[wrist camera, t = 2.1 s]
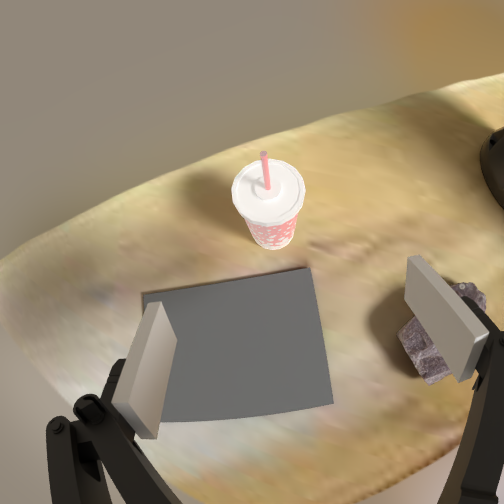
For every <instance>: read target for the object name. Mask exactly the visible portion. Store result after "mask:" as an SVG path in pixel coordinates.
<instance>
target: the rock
mask: <svg viewBox="0 0 504 504" xmlns="http://www.w3.org/2000/svg"><path fill="white" fill-rule="evenodd" d="M450 287H451V288H452V289H453V290H454V291H455V293H456V294H457V295H458V296H459V297H462V296H467V297H469V298H470V299H472V300H474V301H475V302H476V303H477V305H478V306H479V307H480V308H481V309H482V310H483V311H484V313H485V310H486V297H485V295H484V293H482V292H480V291H479V290H478V289H477V287H476V286H475V284H474V283H471V282H469V283H464V282H463V283H458V284H456V285H450ZM397 337H398V339H399V340H400V341H401V343H402V345H403V347H404V349H405V351H406V352H407V354H408V355H409V357H410V358H411V360H412V361H413V364H414V366H415V367H416V369H417V371H418V373H419V375H420V376H422V378H423V379H424V381H425V382H426V383H427V384H428V385H429V386H430V385H432V384H433V383H435V382H437V381H439V380H441V379H442V378H443V377H444V376H448V375H450V374H452V372H451V370H450V369H449V367H448V365H447V364H446V362H445V360H444V359H443V357H442V356H441V354H440V352H439V351H438V349H437V348H436V346H435V345H434V343H433V341H432V340H431V338H430V337H429V335H428V334H427V332H426V331H425V329H424V328H423V326H422V325H421V323H420V322H419V320H418V319H417V317H416V316H414V317H413V318H412V319H411V320H410V321H408V322H407V323H406V324H405V325H404V326H403V327H402V328H401V329H400V330H399V331H398V333H397Z"/></svg>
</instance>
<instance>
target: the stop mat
mask: <svg viewBox="0 0 504 504" xmlns="http://www.w3.org/2000/svg"><path fill="white" fill-rule="evenodd" d="M143 298H144V312H145V309H146V307H147V304H148V303H152V302H159V301H161V302H162V305H163V307H164V310H165V312H166V314H167V317H168V319H169V322H170V324H171V326H172V329H173V331H174V334H175V336H176V338H177V343H176V348H175V352H174V357H173V361H172V366H171V370H170V375H169V380H168V384H167V389H166V394H165V399H164V404H163V409H162V414H161V419H160V422H194V421H212V420H225V419H237V418H247V417H255V416H264V415H271V414H278V413H285V412H291V411H297V410H303V409H309V408H314V407H319V406H324V405H329V404H334V402H333V395H332V388H331V382H330V375H329V369H328V363H327V356H326V350H325V345H324V339H323V333H322V327H321V322H320V316H319V311H318V305H317V300H316V295H315V290H314V285H313V280H312V274H311V270H310V268H305V269H299V270H293V271H288V272H282V273H276V274H271V275H265V276H259V277H253V278H247V279H241V280H235V281H229V282H223V283H217V284H211V285H204V286H198V287H192V288H185V289H179V290H173V291H166V292H159V293H153V294H146V295H143Z"/></svg>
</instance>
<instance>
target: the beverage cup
mask: <svg viewBox="0 0 504 504" xmlns="http://www.w3.org/2000/svg"><path fill="white" fill-rule="evenodd" d="M260 156H261V160H258V161H255V162H253V163H251V164H249V165H247V166H245V167H244V168H243V169H242V170H241V171H240V172H239V173H238V175H237V176H236V177H235V179H234V182H233V185H232V188H231V190H232V199H233V203H234V205H235V207H236V208H237V210H238V212H239V213H240V215H241V216H242V217H243V218H244V219H245V221H246V223H247V225H248V228H249V230H250V232H251V234H252V236H253V238H254V239H255V241H256V242H257V244H259V245H260V246H262V247H263V248H266V249H270V250H275V249H281V248H282V247H284V246H286V245H287V244H288V243H289V242H290V241H291V239H292V238H293V234H294V230H295V225H296V220H297V216H298V211H299V210H300V209H301V208H302V205H303V200H304V196H305V191H306V190H305V185H304V181H303V178H302V176H301V175H300V174H299V172H298V171H297V170H296V169H295V167H293V166H291V165H289V164H288V163H286V162H284V161H280V160H274V159H268V158H267V152H266V151H262V152H261V153H260Z"/></svg>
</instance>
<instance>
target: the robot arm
mask: <svg viewBox="0 0 504 504" xmlns="http://www.w3.org/2000/svg"><path fill="white" fill-rule="evenodd" d="M480 161H481V167H482V171H483V174H484V177H485V180H486V182H487V184H488V186H489V188H490V190H491V192H492V193H493V195H494V197H495V198H496V200H497V201H498V202H499V204H500V205H501V206H502V207H503V208H504V127H502V128H500V129H498V130H496V131H494V132H493V133H492V134H491V135H490V136H489V137H488V138H487V140H486V141H485V142H484V144H483V145H482V148H481V152H480ZM404 300H405V301H406V303H407V304H408V306H409V307H410V309H411V310H412V311H413V313H414V314H415V316H416V317H417V319H418V320H419V322H420V323H421V325H422V326H423V328H424V329H425V331H426V332H427V334H428V335H429V337H430V338H431V340H432V341H433V343H434V345H435V346H436V348H437V349H438V351H439V352H440V354H441V356H442V357H443V359H444V360H445V362H446V364H447V365H448V367H449V369H450V370H451V372H452V373H453V375H454V377H455V378H456V380H457V382H458V383H460V382H462V381H464V380H467V379H469V378H471V377H472V375H473V373H474V370H475V369H476V370H477V372H478V373H479V375H478V377H477V380H476V382H475V384H474V386H473V388H472V390H474V389H475V390H474V395H473V399H472V403H471V408H470V411H469V415H468V419H467V423H466V426H465V430H464V433H463V436H462V440H461V443H460V446H459V449H458V452H457V455H456V458H455V461H454V463H453V466H452V469H451V472H450V474H449V477H448V479H447V482H446V484H445V487H444V489H443V491H442V494H441V496H440V498H439V500H438V503H437V504H498V497H497V496H496V490H497V486H498V483H499V480H500V476H501V472H502V469H503V464H504V331H500V330H499V329H498V327H497V326H496V325H495V324H494V323H493V322H492V320H491V319H490V318H489V317H488V316H487V315H486V314H485V313H484V311H483V310H482V309H481V308H480V307H479V306H478V305H477V303H476V302H475V301H474V300H472V299H470V298H469V297H467V296H462V297H459V296H458V295H457V294H456V293H455V291H454V290H453V289H452V288H451V287H450V286H449V285H448V284H447V283H446V282H445V281H444V279H443V278H442V277H441V276H440V275H439V274H438V273H437V272H436V271H435V270H434V269H433V268H432V267H431V266H430V265H429V264H428V263H427V262H426V261H425V260H424V259H423V258H422V257H421V256H420V255H415V256H411V257H408V259H407V273H406V284H405V294H404ZM176 343H177V338H176V336H175V334H174V331H173V329H172V326H171V324H170V322H169V319H168V317H167V314H166V312H165V310H164V307H163V305H162V302H161V301H159V302H152V303H148V304H147V307H146V309H145V312H144V314H143V317H142V319H141V322H140V324H139V327H138V329H137V332H136V335H135V337H134V340H133V342H132V345H131V348H130V350H129V353H128V356H127V359H118V361H117V362H116V363H115V364H114V365H113V366H112V369H111V371H110V374H109V377H108V379H107V383H106V384H105V387H104V390H103V392H102V395H101V398H100V399H99V398H98V396H97V395H94V394H86V395H84V396H82V397H80V398H79V399H78V400H77V401H76V403H75V404H74V407H73V412H74V414H75V415H76V417H77V418H78V419H79V420H77V421H73V422H70V421H69V420H68V419H67V418H66V417H64V416H57V417H55V418H53V419H52V420H51V421H50V422H49V423H48V425H47V428H46V443H47V460H48V472H49V481H50V490H51V497H52V504H112V501H111V498H110V494H109V491H108V487H107V483H106V479H105V475H104V471H103V467H102V463H103V464H104V466H105V468H106V470H107V472H108V474H109V475H110V477H111V479H112V481H113V482H114V484H115V486H116V488H117V489H118V491H119V493H120V494H121V496H122V498H123V499H124V501H125V502H126V504H182V502H181V501H180V500H179V499H178V498H177V497H176V495H175V494H174V493H173V492H172V491H171V489H170V488H169V487H168V485H167V484H166V483H165V482H164V480H163V479H162V478H161V476H160V475H159V474H158V472H157V471H156V470H155V468H154V467H153V466H152V464H151V463H150V461H149V460H148V459H147V457H146V456H145V454H144V453H143V452H142V450H141V449H140V447H139V446H138V444H137V443H136V442H135V440H134V436H135V433H136V434H137V435H138V436H139V437H140V438H141V439H157V435H158V430H159V425H160V419H161V414H162V409H163V404H164V399H165V394H166V389H167V384H168V380H169V375H170V370H171V366H172V361H173V357H174V352H175V348H176ZM101 461H102V462H101Z"/></svg>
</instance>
